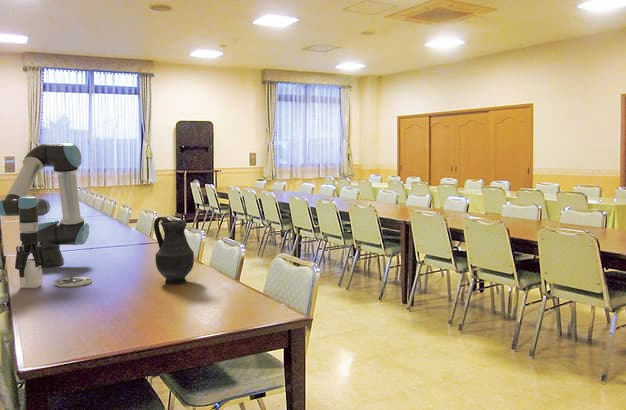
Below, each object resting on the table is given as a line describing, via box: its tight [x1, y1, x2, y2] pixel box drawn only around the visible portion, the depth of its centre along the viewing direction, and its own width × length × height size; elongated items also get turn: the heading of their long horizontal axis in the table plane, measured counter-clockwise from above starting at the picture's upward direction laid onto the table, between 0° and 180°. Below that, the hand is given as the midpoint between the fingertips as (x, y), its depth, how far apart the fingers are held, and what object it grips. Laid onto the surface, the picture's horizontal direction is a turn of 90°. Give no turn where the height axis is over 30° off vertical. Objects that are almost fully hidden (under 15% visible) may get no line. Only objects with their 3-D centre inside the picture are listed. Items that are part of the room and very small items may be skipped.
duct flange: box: [53, 276, 93, 288], centre depth 265 cm, size 16×16×2 cm
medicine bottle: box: [19, 258, 43, 289], centre depth 258 cm, size 7×7×12 cm
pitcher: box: [153, 216, 195, 285], centre depth 267 cm, size 17×21×30 cm
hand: (31, 282), depth 259 cm, fingers closed on medicine bottle, 9 cm apart
